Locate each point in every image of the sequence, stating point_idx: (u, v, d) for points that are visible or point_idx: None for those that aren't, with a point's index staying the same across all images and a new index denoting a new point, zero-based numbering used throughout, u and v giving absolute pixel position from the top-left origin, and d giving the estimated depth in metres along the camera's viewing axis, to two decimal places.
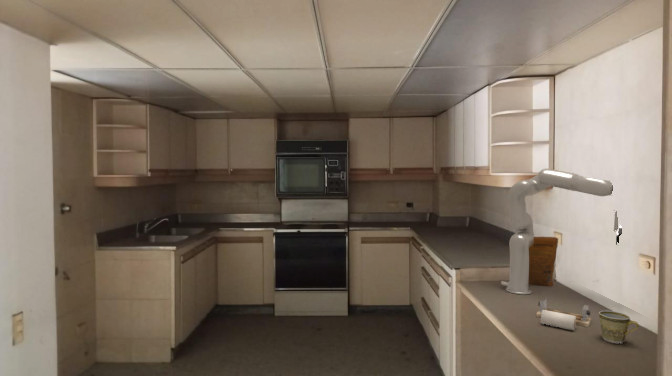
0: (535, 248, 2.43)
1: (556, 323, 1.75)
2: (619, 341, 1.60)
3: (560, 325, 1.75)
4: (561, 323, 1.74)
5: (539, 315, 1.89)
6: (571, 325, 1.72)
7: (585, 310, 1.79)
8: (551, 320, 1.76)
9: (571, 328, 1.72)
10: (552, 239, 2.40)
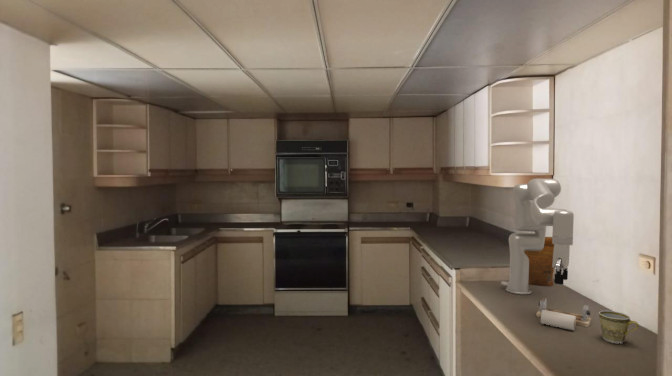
0: None
1: (556, 323, 1.75)
2: (619, 341, 1.60)
3: (560, 325, 1.75)
4: (561, 323, 1.74)
5: (539, 315, 1.89)
6: (571, 325, 1.72)
7: (585, 310, 1.79)
8: (551, 320, 1.76)
9: (571, 328, 1.72)
10: None
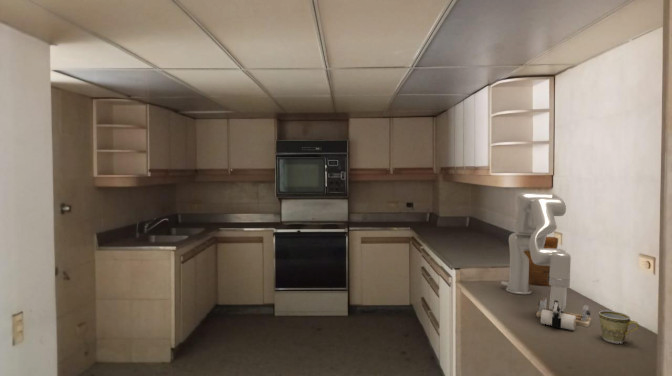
0: None
1: None
2: (619, 341, 1.60)
3: None
4: (561, 323, 1.74)
5: (539, 315, 1.89)
6: (571, 325, 1.72)
7: (585, 310, 1.79)
8: (551, 320, 1.76)
9: (571, 328, 1.72)
10: (552, 239, 2.40)
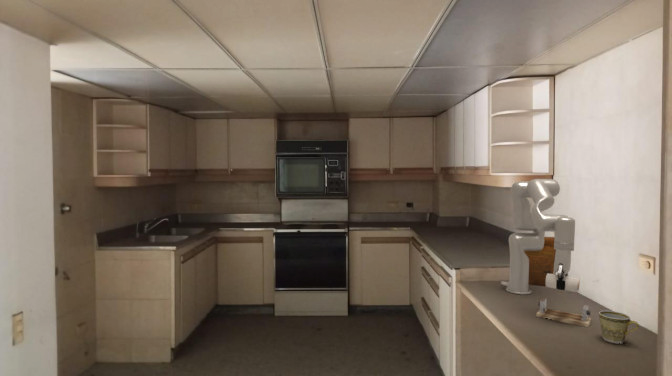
0: None
1: None
2: (619, 341, 1.60)
3: None
4: (565, 285, 1.79)
5: (539, 315, 1.89)
6: (575, 287, 1.77)
7: (585, 310, 1.79)
8: (555, 282, 1.82)
9: (575, 290, 1.78)
10: (552, 239, 2.40)
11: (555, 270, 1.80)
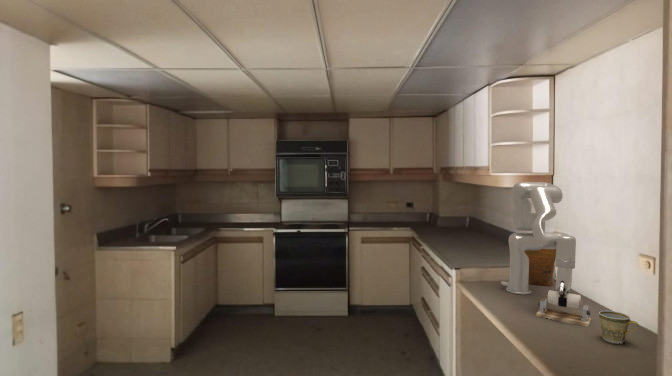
0: None
1: None
2: (619, 341, 1.60)
3: None
4: (567, 302, 1.83)
5: (539, 315, 1.89)
6: (576, 304, 1.81)
7: (585, 310, 1.79)
8: (557, 299, 1.86)
9: (576, 307, 1.82)
10: None
11: (557, 287, 1.84)
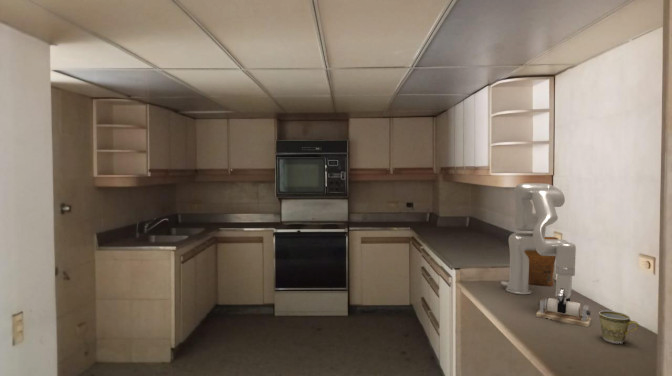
0: None
1: None
2: (619, 341, 1.60)
3: None
4: (566, 310, 1.84)
5: (539, 315, 1.89)
6: (576, 312, 1.81)
7: (585, 310, 1.79)
8: None
9: (576, 315, 1.82)
10: None
11: (557, 295, 1.84)
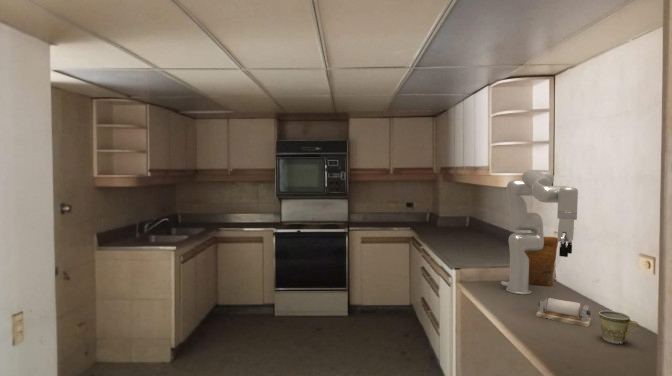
0: None
1: (562, 310, 1.85)
2: (619, 341, 1.60)
3: (565, 312, 1.84)
4: (566, 310, 1.84)
5: (539, 315, 1.89)
6: (576, 312, 1.81)
7: (585, 310, 1.79)
8: (557, 307, 1.86)
9: (576, 315, 1.82)
10: (552, 239, 2.40)
11: (559, 239, 1.83)
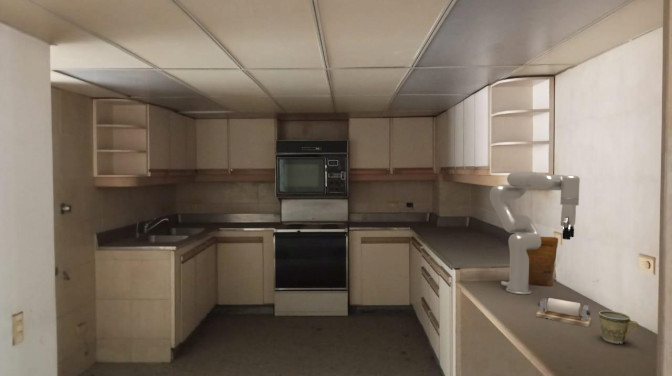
0: None
1: (562, 310, 1.85)
2: (619, 341, 1.60)
3: (565, 312, 1.84)
4: (566, 310, 1.84)
5: (539, 315, 1.89)
6: (576, 312, 1.81)
7: (585, 310, 1.79)
8: (557, 307, 1.86)
9: (576, 315, 1.82)
10: (552, 239, 2.40)
11: (562, 223, 1.98)
